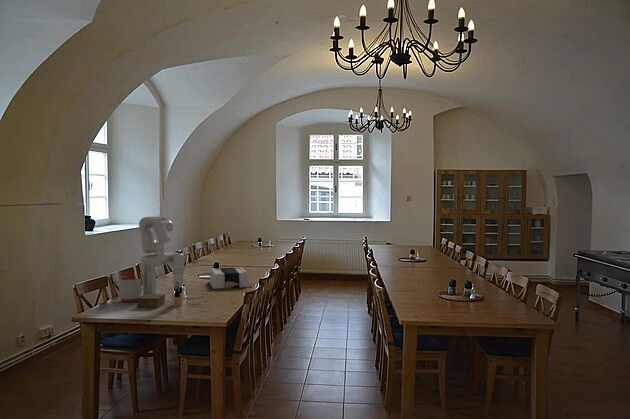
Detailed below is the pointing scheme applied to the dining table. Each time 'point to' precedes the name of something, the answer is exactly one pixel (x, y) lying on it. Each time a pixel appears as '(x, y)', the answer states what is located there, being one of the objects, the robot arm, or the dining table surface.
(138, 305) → the walnut block
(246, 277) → the grey black bridge block
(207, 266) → the dining table surface
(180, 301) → the terracotta block
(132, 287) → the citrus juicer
